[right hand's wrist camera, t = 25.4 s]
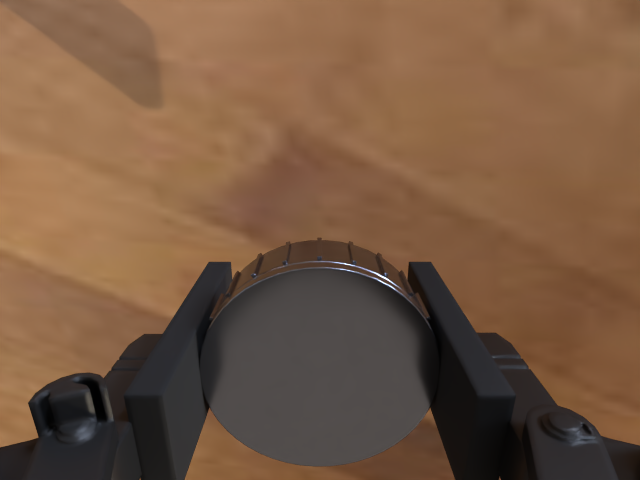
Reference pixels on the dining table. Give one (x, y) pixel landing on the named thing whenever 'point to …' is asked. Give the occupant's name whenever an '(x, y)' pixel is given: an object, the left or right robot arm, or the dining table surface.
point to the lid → (319, 355)
